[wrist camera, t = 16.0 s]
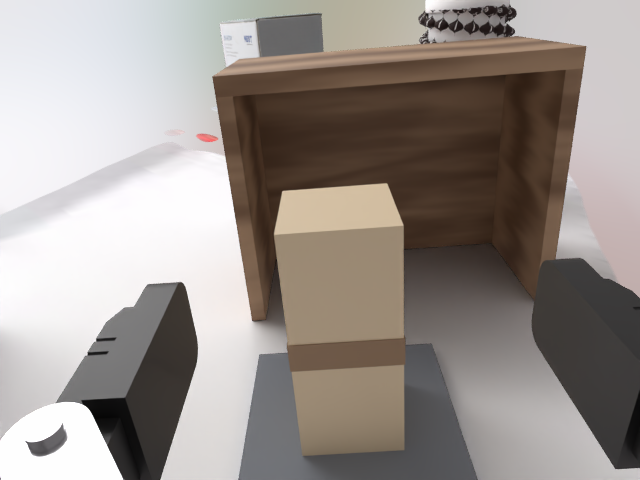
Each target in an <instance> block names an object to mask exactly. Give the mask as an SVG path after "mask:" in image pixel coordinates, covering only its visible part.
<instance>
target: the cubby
mask: <svg viewBox="0 0 640 480" xmlns="http://www.w3.org/2000/svg"><path fill="white" fill-rule="evenodd" d="M585 53H586V46H581V45H574V44H567V43H560V42H553V41H547V40H540V39H533V38H526V37H519V36H514V37H501V38H489V39H477V40H465V41H453V42H440V43H428V44H417V45H404V46H393V47H379V48H369V49H368V48H367V49H355V50H343V51H331V52H318V53H306V54H294V55H282V56H270V57H257V58H245V59H238V60H237V61H235V62H234V63H232V64H231V65H229V66H228V67H226V68H225V69H223V70H222V71H220V72H219V73H217V74H216V75H214V76H213V83H214V89H215V95H216V102H217V108H218V114H219V120H220V126H221V132H222V138H223V144H224V151H225V157H226V163H227V169H228V175H229V181H230V187H231V194H232V200H233V206H234V212H235V218H236V224H237V230H238V237H239V243H240V249H241V255H242V261H243V267H244V273H245V279H246V286H247V292H248V298H249V304H250V310H251V316H252V321H256V320H266V315H267V309H268V303H269V297H270V291H271V285H272V279H273V273H274V267H275V261H276V258H277V255H276V247H275V239H274V232H275V227H276V222H277V216H278V211H279V206H280V201H281V196H282V191H289V190H303V189H316V188H330V187H343V186H357V185H371V184H384V183H387V184H388V187H389V189H390V192H391V195H392V197H393V200H394V202H395V205H396V207H397V210H398V213H399V215H400V218H401V220H402V223H403V225H404V249H414V248H429V247H443V246H457V245H471V244H486V243H492V244H493V245H494V247H495V248H496V249H497V251H498V252H499V253H500V255H501V256H502V258H503V259H504V260H505V262H506V263H507V264H508V266H509V267H510V268H511V270H512V271H513V272H514V274H515V275H516V277H517V278H518V279H519V281H520V282H521V283H522V285H523V286H524V287H525V289H526V290H527V291H528V293H529V294H530V295H531V297H532V298H533V300H534V301H535V295H536V288H537V282H538V276H539V270H540V266H541V264H542V263H543V262H544V261H545V260H555V258H556V252H557V245H558V238H559V231H560V224H561V217H562V210H563V204H564V197H565V190H566V183H567V176H568V169H569V162H570V156H571V148H572V142H573V134H574V128H575V121H576V115H577V107H578V101H579V93H580V87H581V80H582V73H583V67H584V60H585Z"/></svg>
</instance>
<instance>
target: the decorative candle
mask: <svg viewBox="0 0 640 480" xmlns="http://www.w3.org/2000/svg"><path fill="white" fill-rule="evenodd" d="M515 17H516V10H515V9H514V8H512V7H511V6H510V0H426V10H425V11H424V13H423V14H421V15H420V16H419V23H420V24H422V25H424V26H425V27H428V31H427V32H425V33H424V34H423V35H422V37H420V39H419V41H420V43H421V44H428V43H440V42H453V41H465V40H477V39H489V38H501V37H510V36H512V35H513V34H514V33H515V30H514V29H513V28H512V27H510V26H509V25H508V24H507V25H506V26H505V23H506V22H507V21H510V20H512V19H513V18H515Z"/></svg>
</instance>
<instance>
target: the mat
mask: <svg viewBox="0 0 640 480" xmlns="http://www.w3.org/2000/svg"><path fill="white" fill-rule="evenodd" d="M238 480H477V477H476V474H475V471H474V468H473V465H472V462H471V459H470V456H469V453H468V450H467V447H466V444H465V441H464V438H463V435H462V432H461V429H460V426H459V423H458V420H457V417H456V414H455V411H454V409H453V406H452V403H451V400H450V397H449V394H448V391H447V388H446V385H445V382H444V379H443V376H442V373H441V370H440V367H439V364H438V361H437V358H436V355H435V352H434V349H433V346H432V344H417V345H405V365H404V450H398V451H381V452H363V453H346V454H329V455H311V456H302V449H301V441H300V434H299V426H298V418H297V410H296V403H295V395H294V387H293V379H292V372H290V366H289V358H288V353H277V354H261V355H259V360H258V366H257V372H256V378H255V384H254V390H253V396H252V402H251V408H250V414H249V420H248V426H247V432H246V438H245V444H244V450H243V456H242V461H241V467H240V473H239V479H238Z"/></svg>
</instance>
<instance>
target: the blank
mask: <svg viewBox="0 0 640 480" xmlns="http://www.w3.org/2000/svg"><path fill="white" fill-rule="evenodd" d="M274 239H275V247H276V255H277V263H278V270H279V278H280V286H281V294H282V302H283V309H284V317H285V325H286V333H287V340H288V341H287V351H288V358H289V366H290V372H292V379H293V387H294V395H295V403H296V410H297V418H298V426H299V434H300V441H301V449H302V456H311V455H329V454H346V453H363V452H381V451H398V450H404V365H405V336H404V225H403V223H402V220H401V218H400V215H399V213H398V210H397V207H396V205H395V202H394V200H393V197H392V195H391V192H390V189H389V187H388V184H387V183H384V184H371V185H357V186H343V187H330V188H316V189H303V190H289V191H282V196H281V201H280V206H279V211H278V216H277V222H276V227H275V232H274Z"/></svg>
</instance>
